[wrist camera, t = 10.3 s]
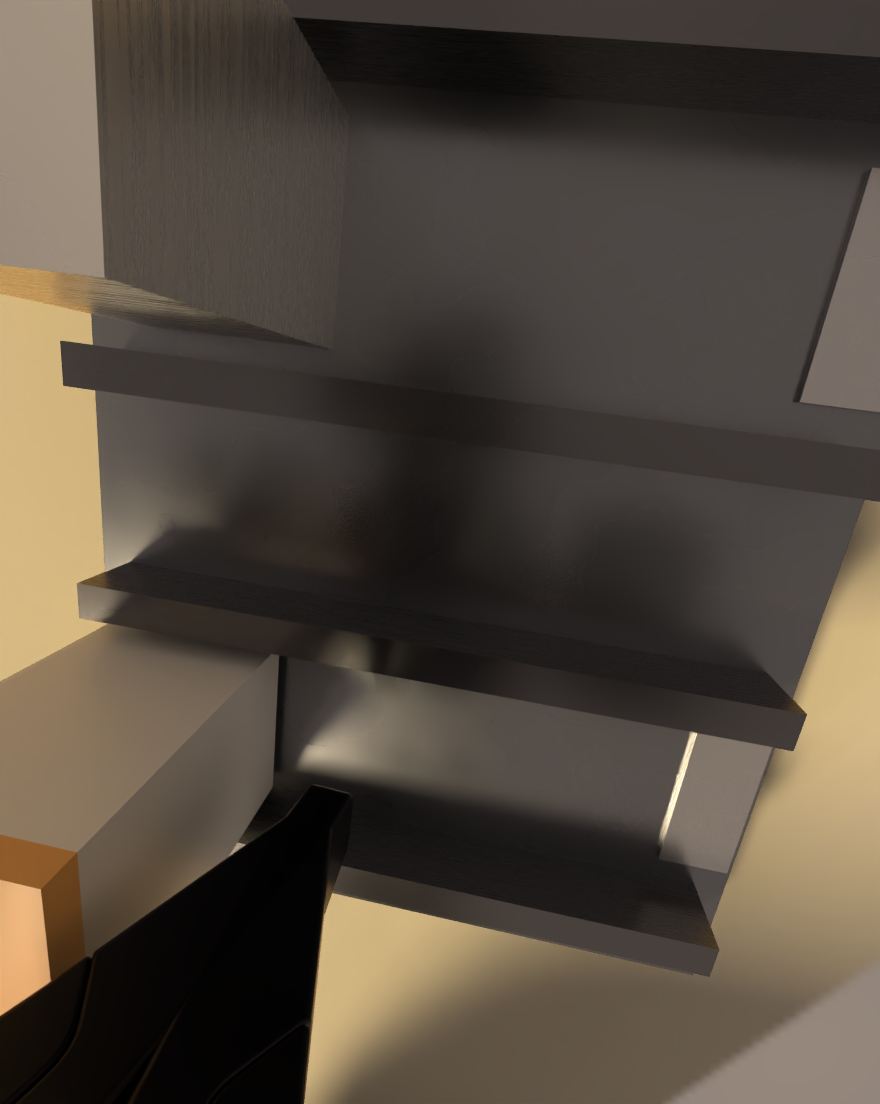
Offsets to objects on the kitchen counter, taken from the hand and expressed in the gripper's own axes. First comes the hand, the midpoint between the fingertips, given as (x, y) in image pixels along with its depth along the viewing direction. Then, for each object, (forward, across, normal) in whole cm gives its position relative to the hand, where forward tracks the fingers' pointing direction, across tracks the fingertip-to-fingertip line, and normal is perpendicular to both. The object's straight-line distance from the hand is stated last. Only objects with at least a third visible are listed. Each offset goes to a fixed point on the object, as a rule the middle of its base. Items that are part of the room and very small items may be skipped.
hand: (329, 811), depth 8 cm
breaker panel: (+4, -1, -4) cm, 5 cm away
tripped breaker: (+2, +3, 0) cm, 4 cm away
